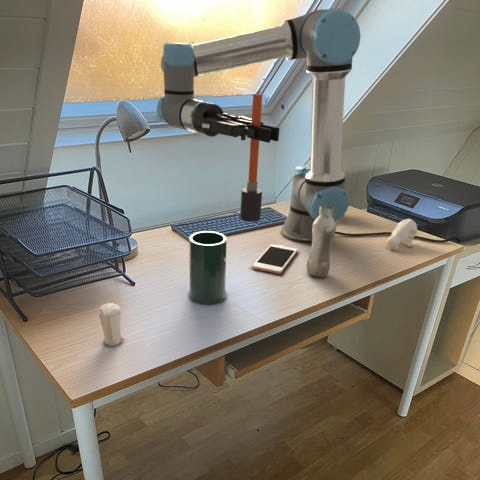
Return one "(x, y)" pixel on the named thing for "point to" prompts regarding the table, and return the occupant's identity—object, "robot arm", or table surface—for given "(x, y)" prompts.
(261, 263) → the cell phone
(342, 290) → the table surface
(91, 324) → the table surface
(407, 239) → the white animal figurine
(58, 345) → the table surface
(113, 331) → the milkshake
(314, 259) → the plastic bottle
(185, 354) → the table surface
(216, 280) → the cup
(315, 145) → the robot arm
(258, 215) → the brush
